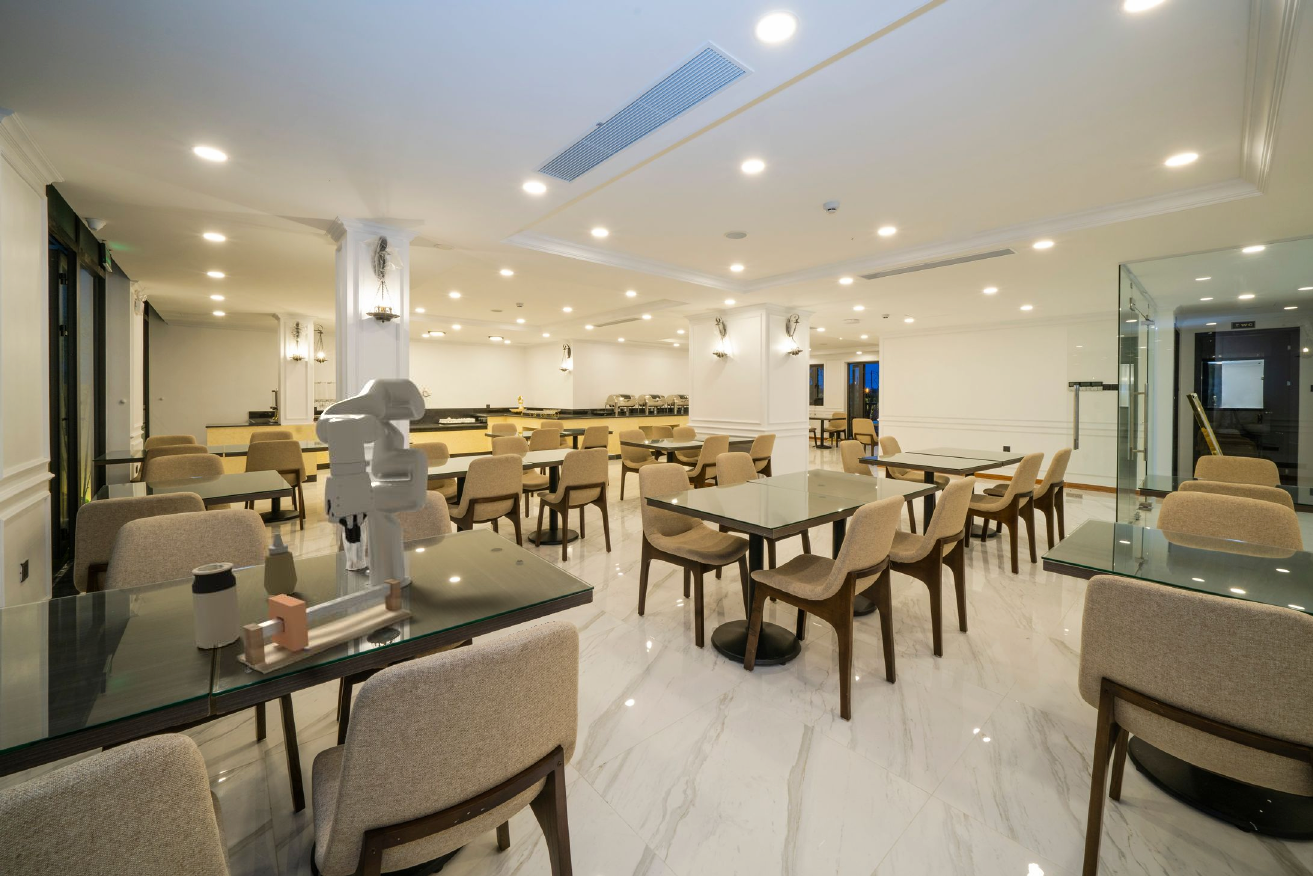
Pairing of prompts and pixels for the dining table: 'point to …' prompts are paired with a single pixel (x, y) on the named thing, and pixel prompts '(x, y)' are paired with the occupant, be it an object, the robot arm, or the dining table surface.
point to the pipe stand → (325, 626)
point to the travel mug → (215, 604)
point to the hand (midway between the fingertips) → (353, 541)
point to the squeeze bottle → (279, 569)
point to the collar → (289, 621)
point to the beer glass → (355, 550)
